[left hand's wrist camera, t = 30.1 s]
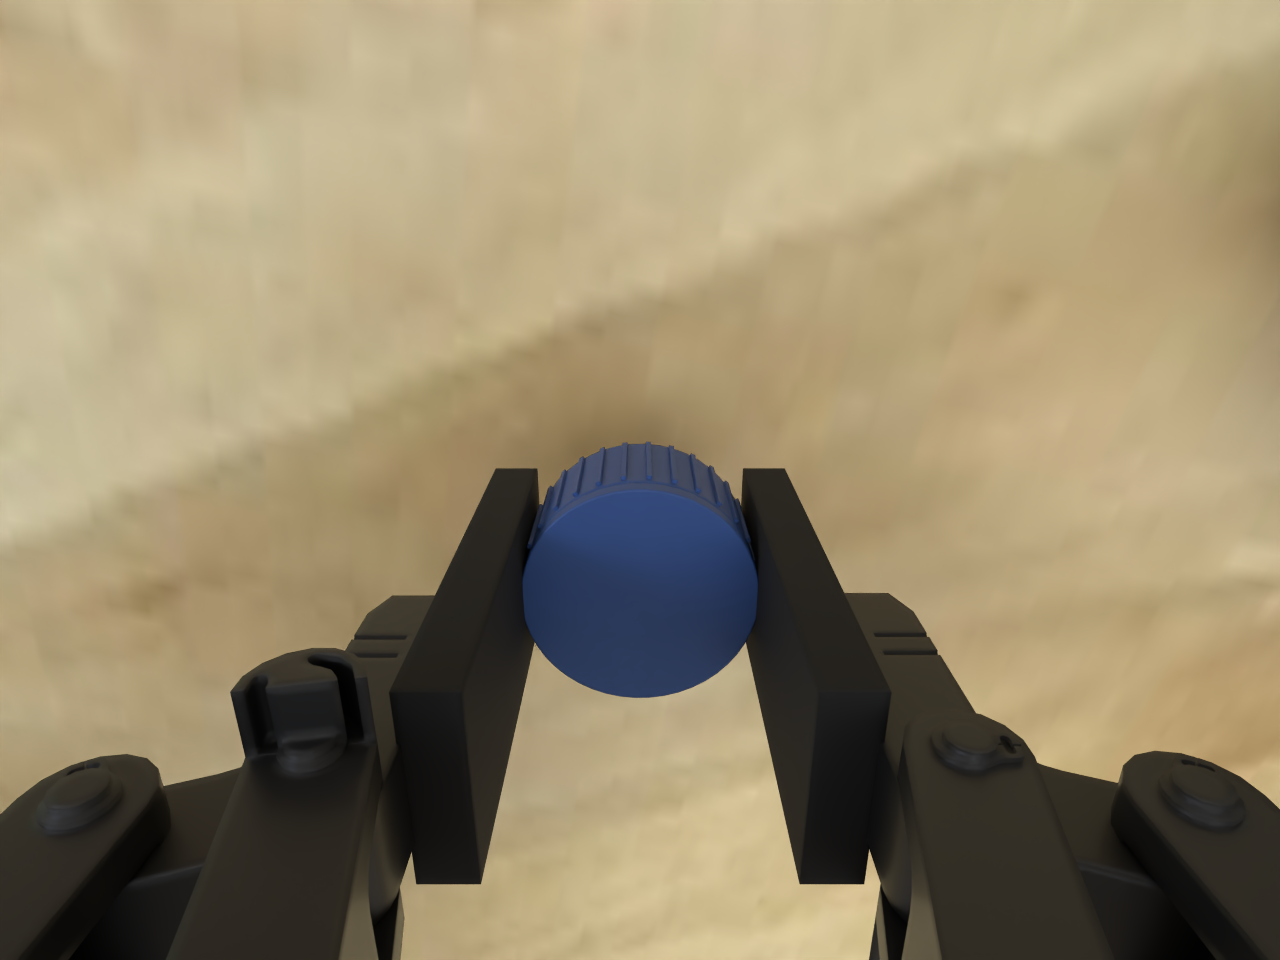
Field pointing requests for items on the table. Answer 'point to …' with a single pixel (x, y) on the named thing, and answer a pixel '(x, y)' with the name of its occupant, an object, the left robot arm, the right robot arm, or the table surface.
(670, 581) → the cap
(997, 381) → the table surface
